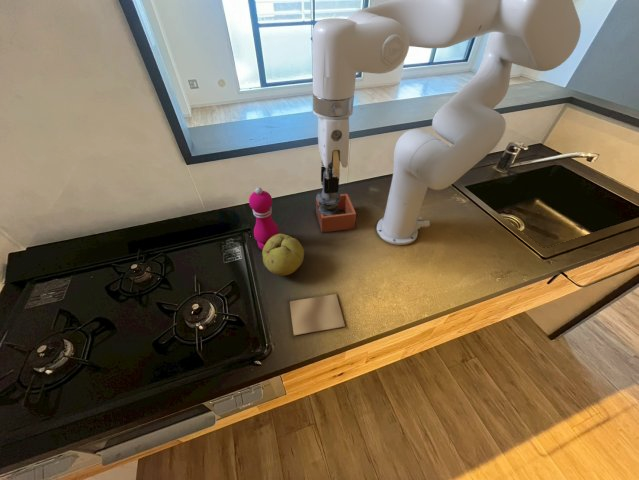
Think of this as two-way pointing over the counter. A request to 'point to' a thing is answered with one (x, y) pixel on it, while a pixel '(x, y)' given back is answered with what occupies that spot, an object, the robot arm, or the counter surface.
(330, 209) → the grey stone figurine
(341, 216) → the holder
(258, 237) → the pepper mill
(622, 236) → the counter surface
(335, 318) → the board
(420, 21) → the robot arm
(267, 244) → the fruit
